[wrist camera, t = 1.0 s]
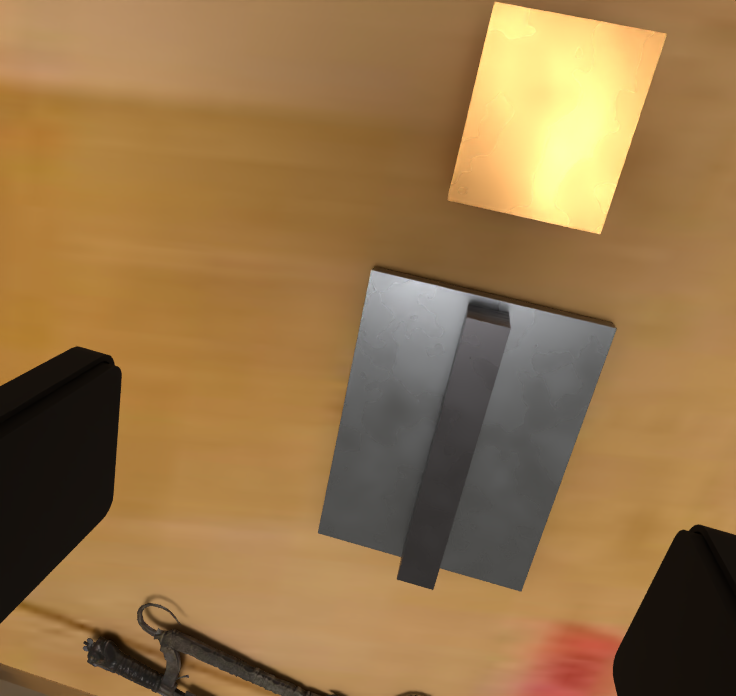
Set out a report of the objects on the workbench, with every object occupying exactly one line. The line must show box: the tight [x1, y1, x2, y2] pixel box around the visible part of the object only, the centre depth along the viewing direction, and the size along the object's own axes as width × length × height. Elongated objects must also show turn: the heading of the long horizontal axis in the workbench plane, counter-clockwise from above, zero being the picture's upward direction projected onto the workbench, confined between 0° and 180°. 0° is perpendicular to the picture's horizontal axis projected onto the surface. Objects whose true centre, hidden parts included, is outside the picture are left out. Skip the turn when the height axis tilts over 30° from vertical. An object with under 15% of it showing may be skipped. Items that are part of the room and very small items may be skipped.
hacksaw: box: [83, 603, 417, 696], centre depth 41 cm, size 24×10×1 cm, turn 66°
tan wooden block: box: [447, 2, 667, 234], centre depth 25 cm, size 7×6×6 cm
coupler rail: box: [318, 266, 617, 591], centre depth 31 cm, size 16×12×4 cm
